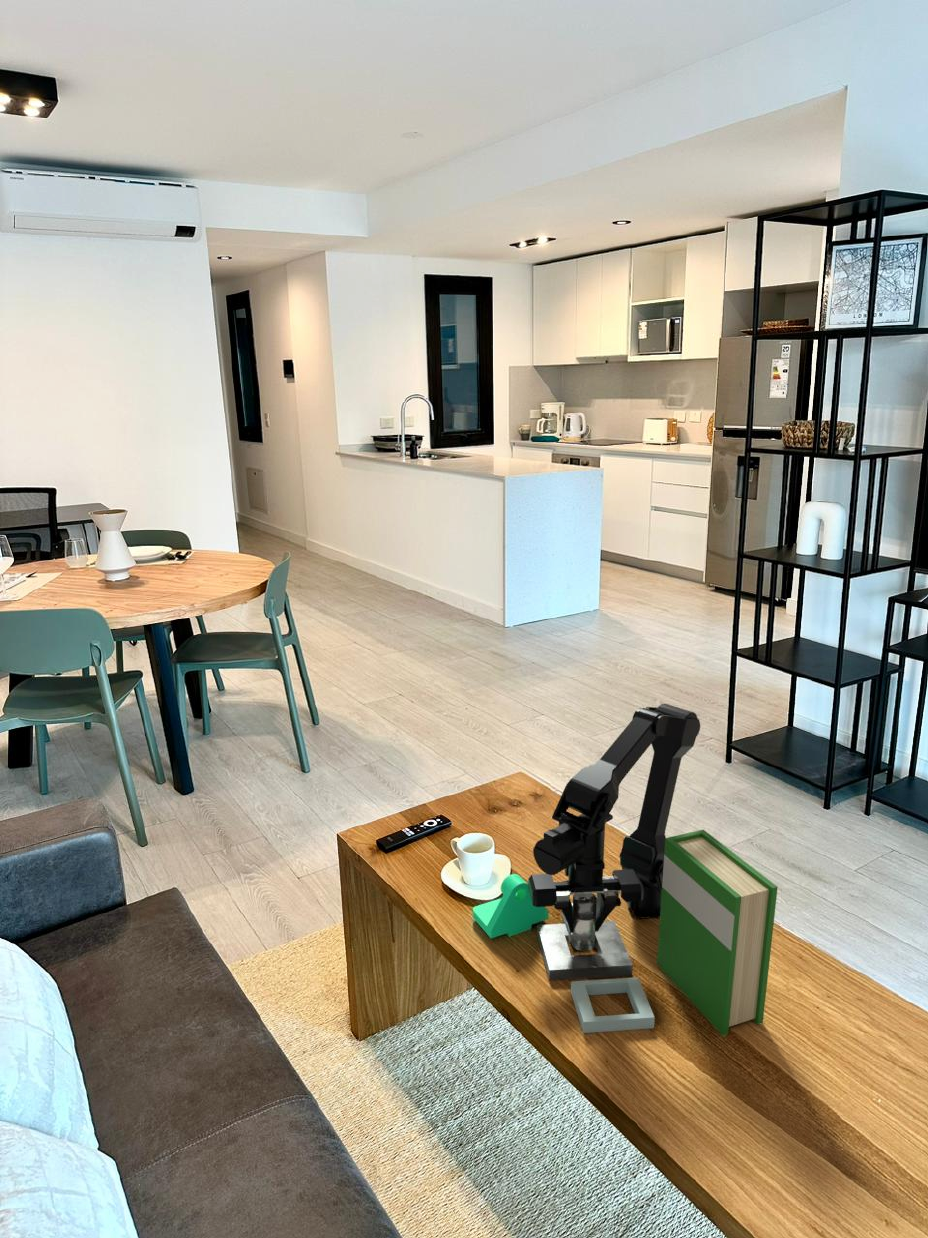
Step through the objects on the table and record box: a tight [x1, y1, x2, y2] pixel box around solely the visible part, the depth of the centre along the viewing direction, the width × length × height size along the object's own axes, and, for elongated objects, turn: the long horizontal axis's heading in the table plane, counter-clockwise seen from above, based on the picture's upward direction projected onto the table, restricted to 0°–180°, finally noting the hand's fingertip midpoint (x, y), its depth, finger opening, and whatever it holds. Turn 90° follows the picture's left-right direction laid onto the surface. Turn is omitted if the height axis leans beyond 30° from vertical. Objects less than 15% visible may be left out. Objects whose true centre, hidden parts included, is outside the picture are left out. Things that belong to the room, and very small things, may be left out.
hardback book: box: [656, 829, 778, 1037], centre depth 133 cm, size 18×7×24 cm, turn 21°
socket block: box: [536, 920, 634, 981], centre depth 145 cm, size 14×12×2 cm
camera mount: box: [472, 873, 549, 939], centre depth 153 cm, size 12×8×10 cm, turn 118°
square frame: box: [570, 976, 656, 1034], centre depth 132 cm, size 11×9×2 cm
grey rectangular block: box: [561, 902, 573, 944], centre depth 152 cm, size 3×8×2 cm, turn 5°
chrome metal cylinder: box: [570, 893, 597, 952], centre depth 143 cm, size 4×4×9 cm
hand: (583, 930), depth 144 cm, fingers closed on chrome metal cylinder, 4 cm apart
